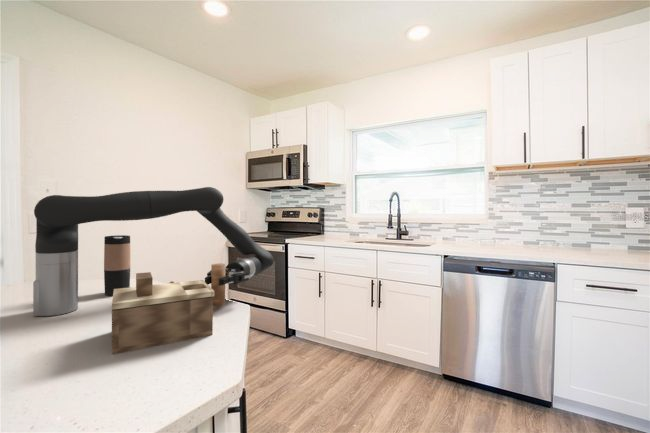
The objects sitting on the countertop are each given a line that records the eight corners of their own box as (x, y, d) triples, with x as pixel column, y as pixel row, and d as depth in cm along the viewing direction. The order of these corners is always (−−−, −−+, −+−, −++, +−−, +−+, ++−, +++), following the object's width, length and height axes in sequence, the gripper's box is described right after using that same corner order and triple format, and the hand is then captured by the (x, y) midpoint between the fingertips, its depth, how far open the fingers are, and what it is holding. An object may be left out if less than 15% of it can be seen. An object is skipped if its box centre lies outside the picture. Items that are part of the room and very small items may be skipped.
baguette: (212, 306, 91) (213, 266, 90) (209, 303, 94) (210, 264, 94) (226, 304, 93) (227, 265, 93) (223, 301, 96) (223, 263, 96)
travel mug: (116, 289, 112) (116, 235, 112) (135, 291, 111) (135, 235, 111) (98, 295, 105) (98, 236, 104) (118, 296, 103) (118, 237, 103)
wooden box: (111, 354, 63) (111, 311, 63) (113, 331, 75) (113, 294, 75) (212, 334, 74) (212, 297, 74) (200, 317, 86) (200, 284, 86)
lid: (111, 309, 63) (111, 284, 63) (113, 293, 75) (114, 272, 75) (214, 296, 74) (214, 274, 74) (202, 284, 86) (202, 265, 86)
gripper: (222, 258, 109) (191, 267, 92) (260, 260, 106) (235, 270, 89) (222, 279, 109) (191, 292, 92) (259, 282, 106) (235, 296, 89)
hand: (213, 281), depth 91 cm, fingers closed on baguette, 4 cm apart
